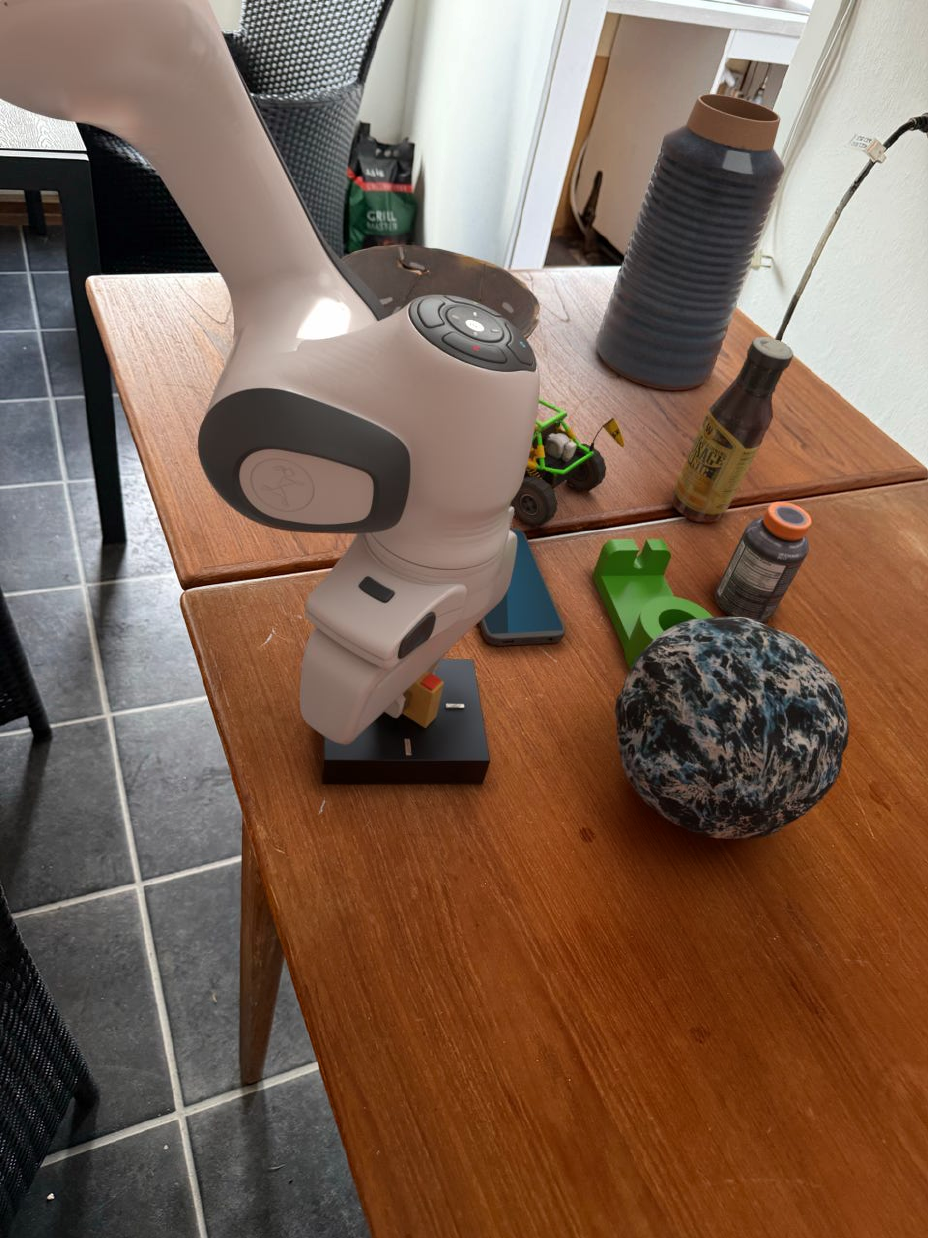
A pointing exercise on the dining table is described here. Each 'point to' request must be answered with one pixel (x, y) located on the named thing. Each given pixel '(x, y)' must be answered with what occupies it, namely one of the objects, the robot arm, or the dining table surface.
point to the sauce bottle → (731, 434)
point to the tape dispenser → (640, 593)
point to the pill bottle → (764, 563)
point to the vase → (692, 244)
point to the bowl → (443, 281)
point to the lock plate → (419, 741)
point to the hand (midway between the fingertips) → (405, 697)
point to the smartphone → (524, 605)
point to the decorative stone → (730, 727)
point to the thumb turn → (424, 699)
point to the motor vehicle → (558, 467)
